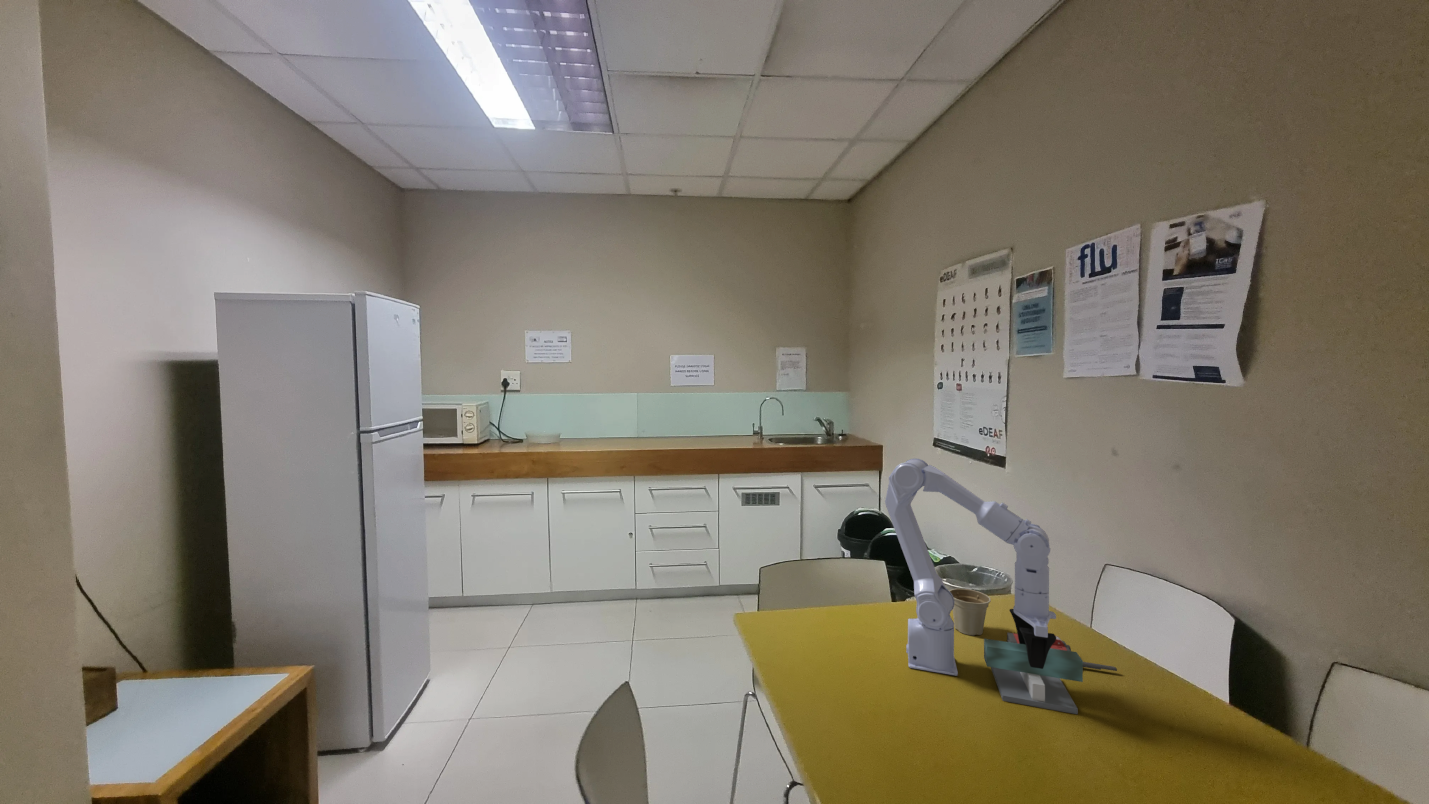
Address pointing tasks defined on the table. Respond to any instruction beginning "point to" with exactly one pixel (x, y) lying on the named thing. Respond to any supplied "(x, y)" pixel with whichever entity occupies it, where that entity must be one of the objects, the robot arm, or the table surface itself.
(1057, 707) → the stand
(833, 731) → the table surface
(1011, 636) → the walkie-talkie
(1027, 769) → the table surface
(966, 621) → the flower pot
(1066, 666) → the teal bar
